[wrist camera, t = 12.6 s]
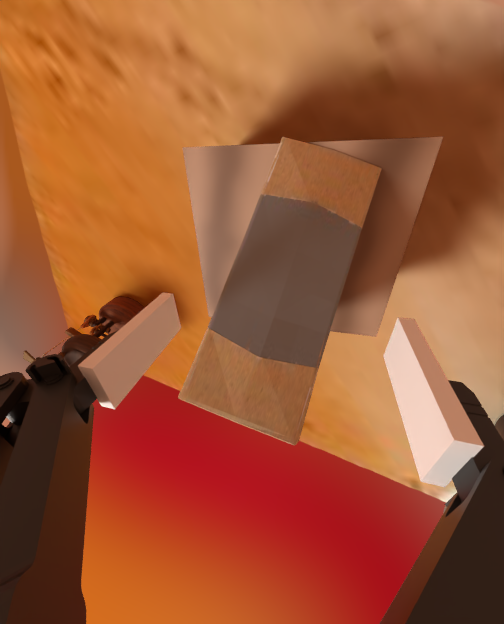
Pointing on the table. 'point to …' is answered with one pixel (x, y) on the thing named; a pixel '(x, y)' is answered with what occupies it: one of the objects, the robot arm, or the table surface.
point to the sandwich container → (283, 291)
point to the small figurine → (96, 329)
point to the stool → (373, 238)
